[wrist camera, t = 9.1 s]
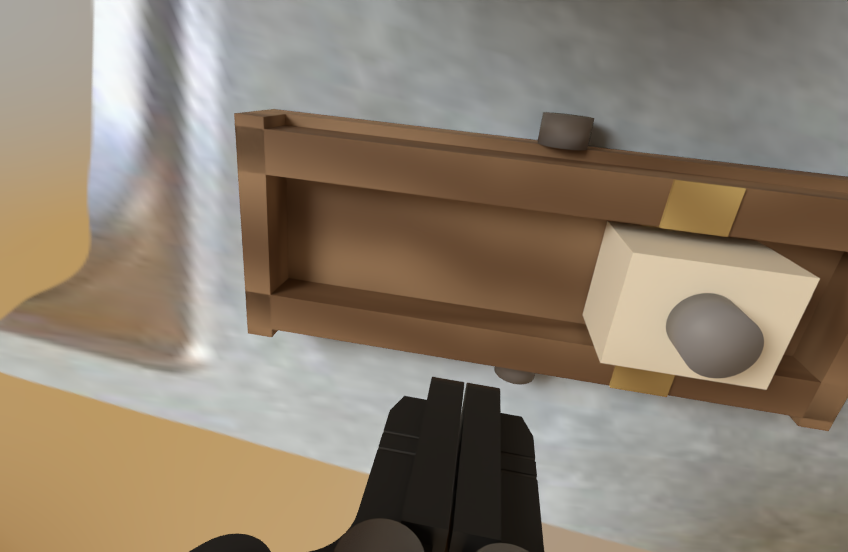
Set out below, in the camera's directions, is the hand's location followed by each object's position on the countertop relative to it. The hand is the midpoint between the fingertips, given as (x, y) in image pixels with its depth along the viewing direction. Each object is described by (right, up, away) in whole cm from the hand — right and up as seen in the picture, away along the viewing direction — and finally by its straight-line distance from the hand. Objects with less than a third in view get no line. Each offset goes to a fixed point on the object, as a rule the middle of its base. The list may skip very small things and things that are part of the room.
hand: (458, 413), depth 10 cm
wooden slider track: (+5, +4, +12) cm, 13 cm away
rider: (+10, +3, +10) cm, 14 cm away
